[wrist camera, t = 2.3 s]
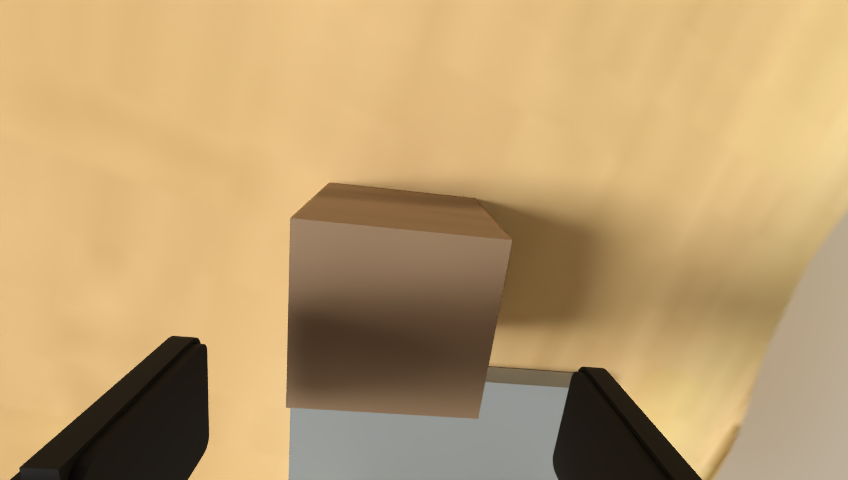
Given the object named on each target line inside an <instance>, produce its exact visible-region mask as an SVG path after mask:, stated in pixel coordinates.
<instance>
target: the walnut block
mask: <svg viewBox="0 0 848 480" xmlns="http://www.w3.org/2000/svg"><path fill="white" fill-rule="evenodd" d="M511 245H512V239H511V238H510V237H509V236H508V235H507V234H506V233H505V231H504V230H503V229H502V228H501V227H500V226H499V225H498V224H497V223H496V221H495V220H494V219H493V218H492V217H491V216H490V215H489V214H488V213H487V211H486V210H485V209H484V208H483V207H482V206H481V205H480V204H479V203H478V201H477V200H476V199H475V198H467V197H457V196H448V195H439V194H430V193H421V192H411V191H402V190H393V189H384V188H374V187H365V186H356V185H347V184H337V183H328V184H327V185H326V186H325V187H324V188H323V189H322V190H321V191H320V192H318V193H317V194H316V195H315V196H314V197H313V198H312V199H311V200H310V201H309V202H308V203H306V204H305V205H304V206H303V207H302V208H301V209H300V210H299V211H298V212H297V213H295V214H294V215H293V216H292V217H291V218H290V258H289V303H288V348H287V393H286V408H302V409H319V410H336V411H353V412H370V413H387V414H404V415H421V416H437V417H454V418H471V419H478V418H479V412H480V407H481V402H482V397H483V391H484V386H485V381H486V376H487V370H488V365H489V360H490V355H491V350H492V344H493V339H494V334H495V329H496V323H497V318H498V313H499V308H500V303H501V297H502V292H503V287H504V282H505V276H506V271H507V266H508V261H509V256H510V250H511Z"/></svg>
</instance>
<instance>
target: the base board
mask: <svg viewBox="0 0 848 480" xmlns="http://www.w3.org/2000/svg"><path fill="white" fill-rule="evenodd" d="M572 374H573V373H569V372H555V371H541V370H527V369H513V368H499V367H488V370H487V376H486V381H485V386H484V391H483V397H482V402H481V407H480V412H479V418H478V419H471V418H454V417H437V416H421V415H404V414H387V413H370V412H353V411H336V410H319V409H302V408H291V410H290V448H289V480H558V478H557V476H556V474H555V471H554V468H553V453H554V449H555V444H556V440H557V436H558V432H559V427H560V423H561V419H562V415H563V411H564V406H565V402H566V398H567V394H568V389H569V385H570V381H571V377H572Z"/></svg>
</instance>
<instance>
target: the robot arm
mask: <svg viewBox="0 0 848 480" xmlns="http://www.w3.org/2000/svg"><path fill="white" fill-rule="evenodd" d="M208 440H209V416H208V368H207V347H206V345H205V344H200V340H199V339H198V338H194V337H180V336H171V337H170V338H168V339H167V340H166V341H165V342H164V343H162V344H161V345H160V346H159V347H158V348H157V349H155V350H154V351H153V352H152V353H151V354H150V355H149V356H147V357H146V358H145V359H144V360H143V361H142V362H141V363H139V364H138V365H137V366H136V367H135V368H134V369H132V370H131V371H130V372H129V373H128V374H127V375H126V376H124V377H123V378H122V379H121V380H120V381H119V382H118V383H116V384H115V385H114V386H113V387H112V388H111V389H110V390H108V391H107V392H106V393H105V394H104V395H103V396H101V397H100V398H99V399H98V400H97V401H96V402H95V403H93V404H92V405H91V406H90V407H89V408H88V409H87V410H85V411H84V412H83V413H82V414H81V415H80V416H78V417H77V418H76V419H75V420H74V421H73V422H72V423H70V424H69V425H68V426H67V427H66V428H65V429H64V430H62V431H61V432H60V433H59V434H58V435H57V436H55V437H54V438H53V439H52V440H51V441H50V442H49V443H47V444H46V445H45V446H44V447H43V448H42V449H41V450H39V451H38V452H37V453H36V454H35V455H34V456H33V457H31V458H30V459H29V460H28V461H27V462H26V463H24V464H23V465H22V466H21V467H20V472H19V473H17V474H16V475H15V476H14V477H13V478H12V479H11V480H188V478H189V477H190V475H191V474H192V472H193V470H194V469H195V467H196V466H197V464H198V462H199V461H200V459H201V457H202V456H203V454H204V452H205V450H206V448H207V444H208ZM553 468H554V471H555V474H556V476H557V478H558V480H702V479H701V478H700V477H699V476H698V474H697V473H696V472H695V471H694V470H693V469H692V468H691V466H690V465H689V464H688V463H687V462H686V461H685V460H684V458H683V457H682V456H681V455H680V454H679V453H678V452H677V450H676V449H675V448H674V447H673V446H672V445H671V444H670V442H669V441H668V440H667V439H666V438H665V437H664V436H663V434H662V433H661V432H660V431H659V430H658V429H657V428H656V426H655V425H654V424H653V423H652V422H651V421H650V420H649V418H648V417H647V416H646V415H645V414H644V413H643V412H642V410H641V409H640V408H639V407H638V406H637V405H636V404H635V402H634V401H633V400H632V399H631V398H630V397H629V395H628V394H627V393H626V392H625V391H624V390H623V389H622V387H621V386H620V385H619V384H618V383H617V382H616V381H615V379H614V378H613V377H612V376H611V375H610V374H609V373H608V371H607V370H605V369H603V368H593V367H581V368H580V369H579V370H578V372H574V373H573V374H572V377H571V381H570V385H569V389H568V394H567V398H566V402H565V406H564V411H563V415H562V419H561V423H560V427H559V432H558V436H557V440H556V444H555V449H554V453H553Z"/></svg>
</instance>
